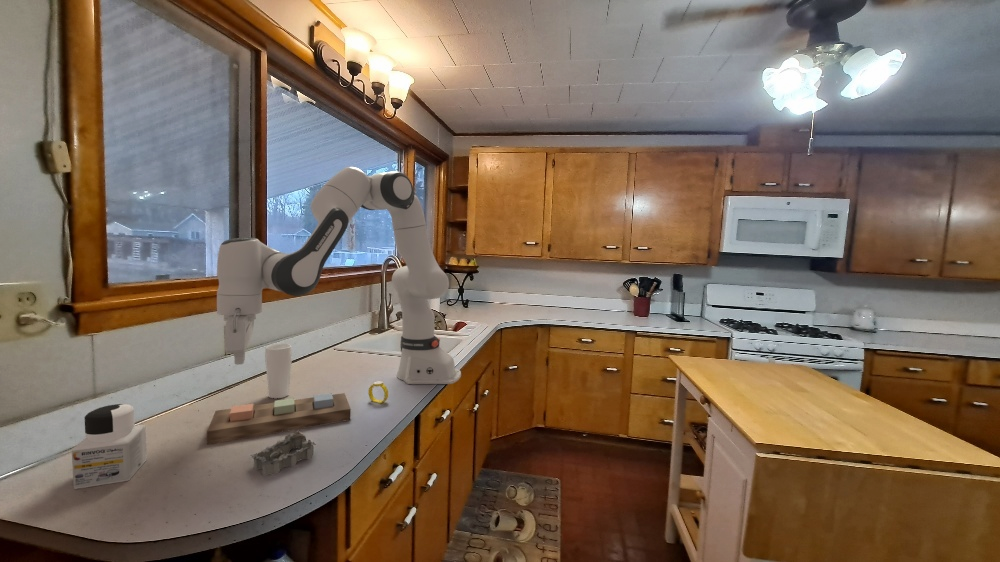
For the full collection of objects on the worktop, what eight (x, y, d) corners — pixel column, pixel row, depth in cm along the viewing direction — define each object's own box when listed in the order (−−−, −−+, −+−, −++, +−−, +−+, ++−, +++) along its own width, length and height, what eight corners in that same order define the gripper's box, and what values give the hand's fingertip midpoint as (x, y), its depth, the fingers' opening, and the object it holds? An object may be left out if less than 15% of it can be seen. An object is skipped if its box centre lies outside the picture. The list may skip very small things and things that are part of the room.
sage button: (294, 409, 100) (294, 398, 100) (294, 415, 97) (294, 404, 96) (274, 412, 98) (274, 400, 98) (274, 418, 94) (274, 407, 94)
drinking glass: (297, 392, 117) (296, 344, 115) (282, 401, 110) (281, 349, 109) (276, 390, 117) (275, 342, 116) (260, 399, 111) (259, 348, 109)
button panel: (344, 403, 110) (344, 393, 110) (350, 420, 100) (350, 408, 99) (215, 422, 96) (215, 410, 95) (207, 444, 85) (206, 431, 85)
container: (72, 490, 68) (68, 419, 67) (97, 467, 75) (94, 403, 74) (129, 481, 71) (126, 413, 70) (147, 460, 78) (145, 398, 77)
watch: (367, 403, 112) (366, 383, 111) (373, 399, 114) (372, 380, 114) (384, 405, 110) (383, 384, 109) (390, 401, 112) (389, 381, 112)
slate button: (331, 403, 105) (331, 393, 105) (333, 409, 101) (333, 398, 101) (313, 406, 103) (313, 395, 102) (314, 412, 99) (314, 401, 99)
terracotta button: (253, 415, 96) (253, 403, 96) (252, 422, 92) (252, 410, 92) (232, 418, 94) (232, 406, 94) (230, 425, 90) (229, 413, 90)
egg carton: (301, 446, 87) (301, 428, 86) (319, 457, 82) (319, 438, 82) (248, 466, 78) (248, 447, 78) (265, 480, 74) (265, 459, 73)
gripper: (252, 312, 83) (251, 374, 84) (258, 300, 101) (258, 351, 102) (216, 312, 80) (216, 377, 81) (229, 300, 98) (229, 353, 99)
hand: (239, 362), depth 92 cm, fingers closed
